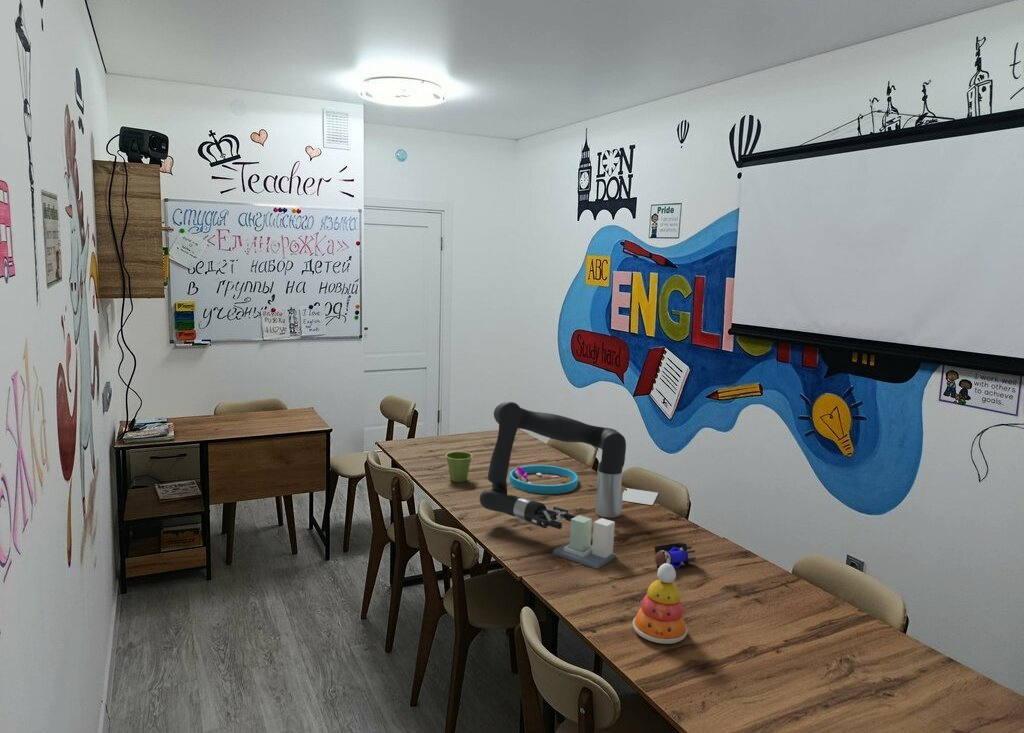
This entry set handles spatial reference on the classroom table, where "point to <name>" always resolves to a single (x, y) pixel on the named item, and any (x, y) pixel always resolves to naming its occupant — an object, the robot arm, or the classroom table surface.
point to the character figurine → (673, 554)
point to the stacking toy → (661, 610)
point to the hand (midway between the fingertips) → (568, 522)
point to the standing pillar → (603, 538)
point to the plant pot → (458, 465)
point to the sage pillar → (580, 533)
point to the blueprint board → (583, 556)
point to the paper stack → (639, 496)
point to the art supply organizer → (539, 469)
